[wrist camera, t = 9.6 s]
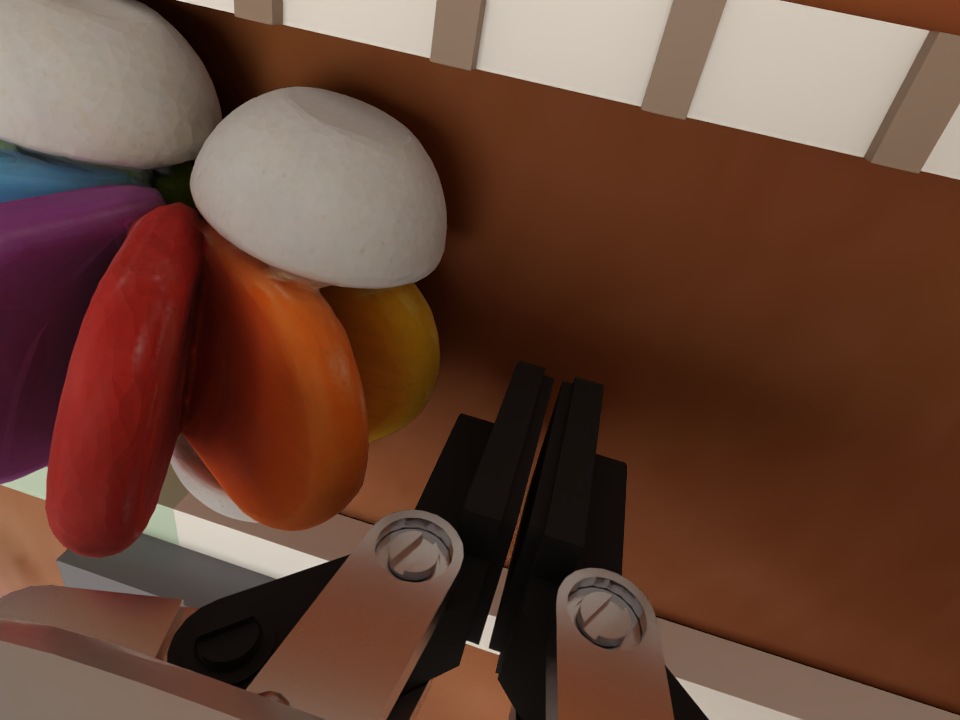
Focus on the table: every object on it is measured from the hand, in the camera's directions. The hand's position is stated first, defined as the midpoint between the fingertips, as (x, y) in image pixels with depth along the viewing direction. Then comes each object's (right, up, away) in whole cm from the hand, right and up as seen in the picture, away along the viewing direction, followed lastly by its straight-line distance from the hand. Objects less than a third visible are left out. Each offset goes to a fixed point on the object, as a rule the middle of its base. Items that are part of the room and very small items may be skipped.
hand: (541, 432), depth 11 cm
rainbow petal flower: (-6, +4, +1) cm, 7 cm away
